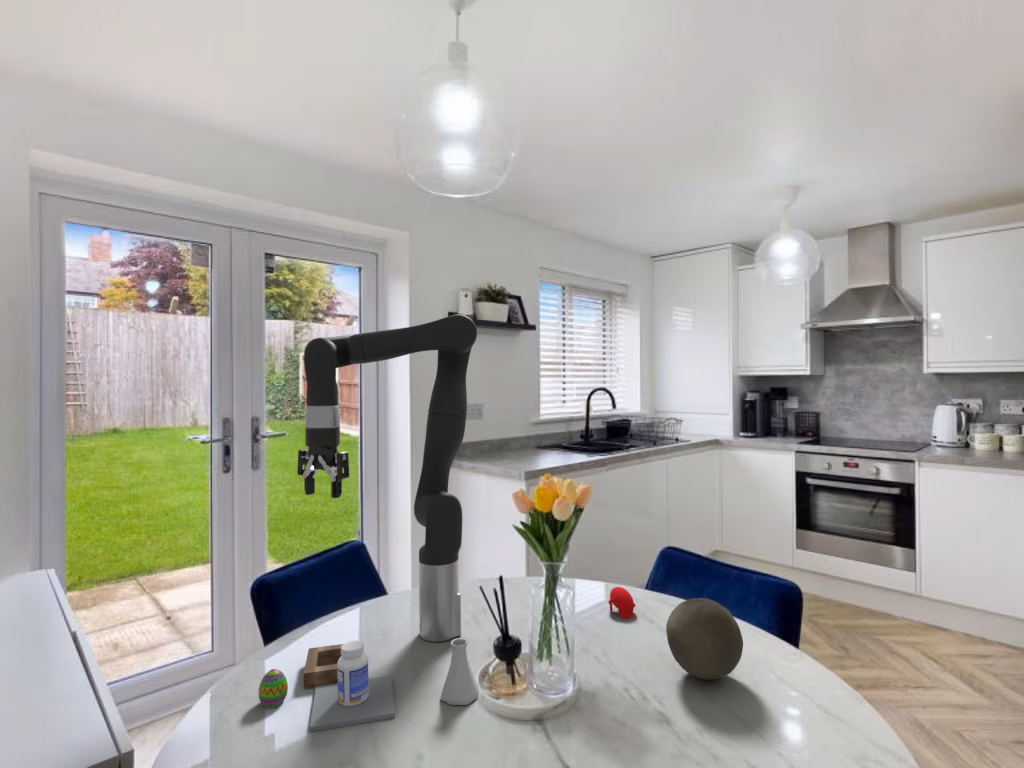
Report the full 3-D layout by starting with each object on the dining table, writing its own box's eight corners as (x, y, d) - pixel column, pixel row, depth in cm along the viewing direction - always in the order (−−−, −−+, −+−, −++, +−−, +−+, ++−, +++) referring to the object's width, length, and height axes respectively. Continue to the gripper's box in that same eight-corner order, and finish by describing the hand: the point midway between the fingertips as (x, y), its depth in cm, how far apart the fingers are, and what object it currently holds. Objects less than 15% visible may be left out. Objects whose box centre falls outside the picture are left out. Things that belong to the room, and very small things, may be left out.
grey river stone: (669, 656, 115) (668, 585, 115) (741, 666, 110) (740, 592, 110) (664, 691, 101) (663, 610, 102) (746, 704, 97) (745, 620, 97)
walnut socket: (361, 655, 117) (361, 641, 117) (361, 680, 106) (361, 665, 106) (308, 662, 114) (308, 648, 114) (303, 689, 103) (303, 673, 104)
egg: (255, 712, 96) (255, 678, 96) (262, 697, 101) (262, 664, 101) (284, 708, 97) (284, 675, 97) (290, 693, 102) (290, 661, 102)
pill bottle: (372, 691, 101) (372, 638, 101) (362, 708, 96) (361, 652, 96) (344, 690, 102) (344, 637, 102) (332, 706, 96) (332, 651, 96)
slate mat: (391, 679, 107) (391, 675, 107) (395, 717, 94) (395, 712, 94) (315, 690, 103) (315, 686, 103) (309, 731, 90) (309, 727, 90)
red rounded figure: (601, 595, 141) (605, 590, 136) (621, 585, 142) (625, 580, 137) (616, 625, 137) (621, 621, 132) (637, 615, 139) (642, 611, 133)
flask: (485, 688, 103) (484, 636, 103) (469, 710, 96) (469, 653, 96) (450, 682, 105) (450, 631, 106) (433, 703, 99) (432, 647, 99)
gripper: (288, 425, 125) (288, 496, 125) (332, 427, 118) (332, 501, 118) (314, 423, 131) (314, 490, 131) (357, 425, 125) (357, 495, 124)
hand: (322, 495), depth 124 cm, fingers open, 8 cm apart
